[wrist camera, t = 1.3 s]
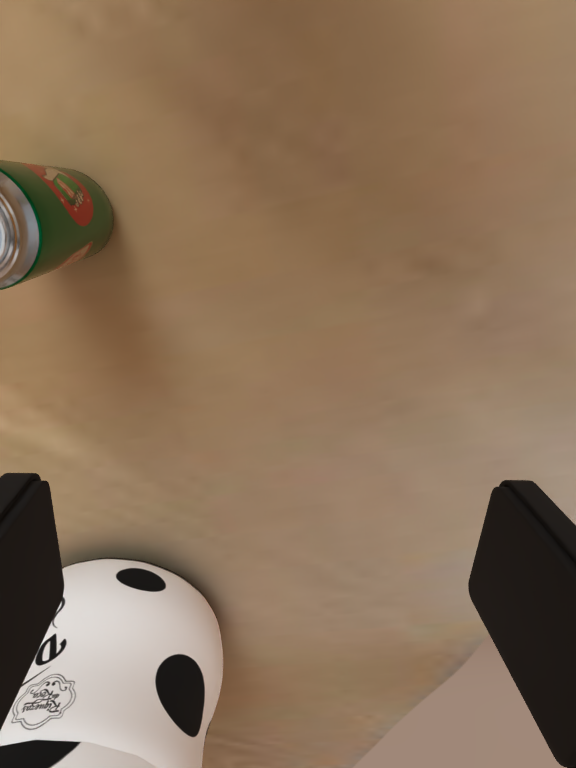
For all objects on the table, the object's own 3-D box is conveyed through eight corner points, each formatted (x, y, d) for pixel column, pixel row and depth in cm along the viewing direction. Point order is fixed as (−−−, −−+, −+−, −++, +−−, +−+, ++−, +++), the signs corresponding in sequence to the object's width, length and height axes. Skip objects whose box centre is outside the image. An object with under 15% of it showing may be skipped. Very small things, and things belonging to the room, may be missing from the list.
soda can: (40, 259, 30) (-89, 299, 19) (19, 170, 28) (-138, 155, 17) (122, 255, 30) (44, 292, 19) (107, 166, 28) (10, 149, 17)
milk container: (9, 531, 37) (-193, 811, 20) (233, 543, 39) (217, 809, 22) (27, 686, 43) (-116, 996, 27) (219, 690, 45) (198, 984, 28)
